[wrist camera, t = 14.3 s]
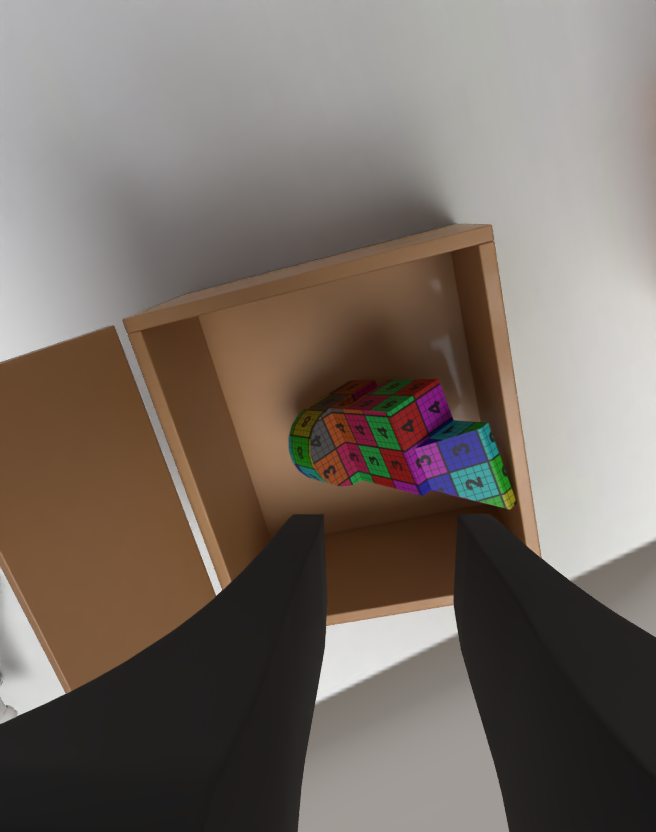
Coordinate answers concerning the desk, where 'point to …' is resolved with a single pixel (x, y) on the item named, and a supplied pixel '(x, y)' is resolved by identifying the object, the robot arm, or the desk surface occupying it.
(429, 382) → the block
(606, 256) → the desk surface
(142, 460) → the flap
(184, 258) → the desk surface
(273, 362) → the carton
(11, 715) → the soldier figure
